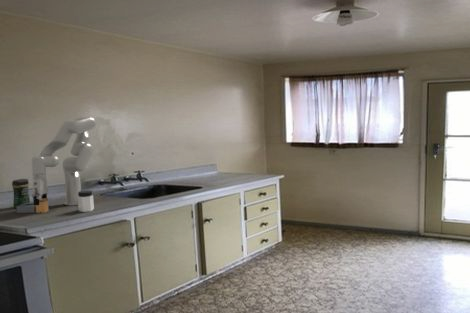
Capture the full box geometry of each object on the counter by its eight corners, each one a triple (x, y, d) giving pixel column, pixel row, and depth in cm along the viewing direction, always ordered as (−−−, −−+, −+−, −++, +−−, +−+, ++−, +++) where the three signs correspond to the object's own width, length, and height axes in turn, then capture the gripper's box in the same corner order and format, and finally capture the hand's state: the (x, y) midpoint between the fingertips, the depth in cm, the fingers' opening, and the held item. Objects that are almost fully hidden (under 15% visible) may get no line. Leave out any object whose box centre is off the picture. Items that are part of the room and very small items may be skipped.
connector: (48, 210, 248) (47, 198, 247) (45, 212, 243) (44, 199, 242) (39, 210, 248) (38, 198, 247) (36, 212, 243) (35, 200, 242)
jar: (83, 208, 250) (82, 190, 249) (95, 208, 250) (94, 190, 248) (76, 212, 241) (75, 193, 240) (89, 212, 241) (88, 192, 239)
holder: (43, 208, 254) (42, 202, 254) (34, 212, 243) (34, 206, 243) (26, 208, 254) (25, 202, 254) (16, 212, 243) (16, 206, 243)
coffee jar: (19, 209, 254) (17, 180, 252) (11, 208, 257) (9, 180, 255) (33, 205, 262) (30, 178, 260) (24, 204, 266) (22, 177, 264)
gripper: (38, 178, 234) (39, 206, 235) (51, 174, 251) (53, 200, 253) (25, 178, 234) (27, 206, 235) (40, 174, 251) (41, 200, 253)
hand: (40, 203), depth 244 cm, fingers open, 9 cm apart
